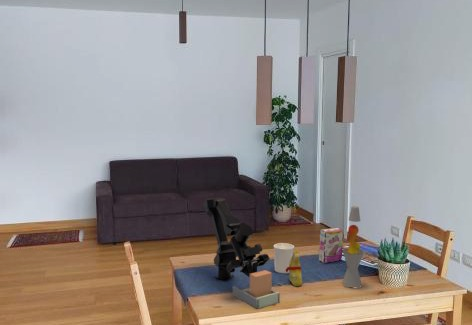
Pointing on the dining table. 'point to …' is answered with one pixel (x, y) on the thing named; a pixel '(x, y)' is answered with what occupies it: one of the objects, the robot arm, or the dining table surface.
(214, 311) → the dining table surface
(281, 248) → the white tapered cylinder
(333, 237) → the candy bar box
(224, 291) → the dining table surface
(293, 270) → the chocolate bunny
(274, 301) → the gray open tray
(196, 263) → the dining table surface
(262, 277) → the terracotta block
